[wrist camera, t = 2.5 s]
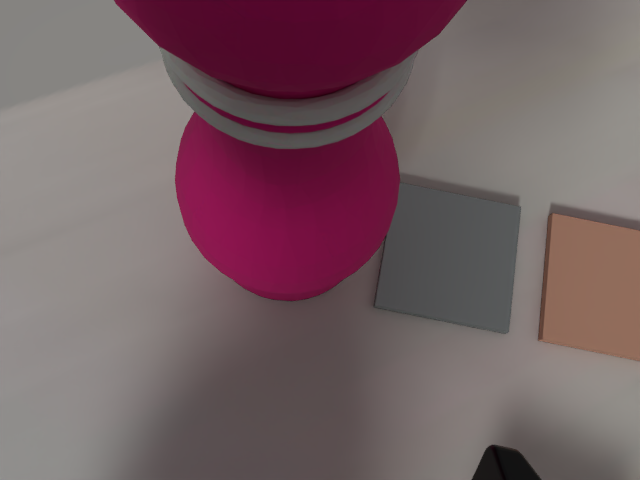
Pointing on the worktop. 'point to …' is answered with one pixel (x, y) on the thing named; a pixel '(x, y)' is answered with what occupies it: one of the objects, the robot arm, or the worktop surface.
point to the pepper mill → (288, 129)
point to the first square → (450, 258)
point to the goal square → (591, 287)
